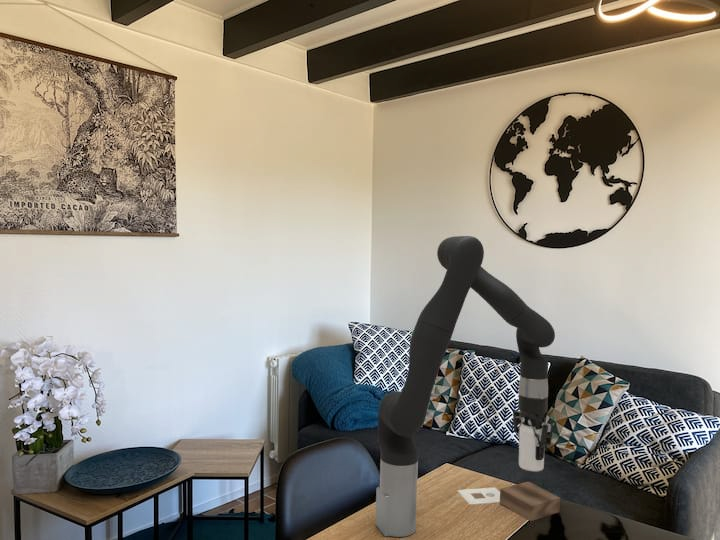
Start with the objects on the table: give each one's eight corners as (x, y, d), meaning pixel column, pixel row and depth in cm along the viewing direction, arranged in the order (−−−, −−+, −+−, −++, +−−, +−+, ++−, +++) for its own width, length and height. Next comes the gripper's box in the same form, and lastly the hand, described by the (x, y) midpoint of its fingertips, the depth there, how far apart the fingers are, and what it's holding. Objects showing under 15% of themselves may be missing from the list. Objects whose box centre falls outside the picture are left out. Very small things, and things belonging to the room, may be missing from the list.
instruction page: (470, 505, 148) (470, 504, 148) (456, 490, 157) (456, 490, 157) (510, 501, 151) (510, 500, 151) (495, 488, 159) (495, 487, 159)
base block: (531, 521, 140) (531, 506, 140) (499, 503, 149) (500, 488, 149) (559, 512, 145) (560, 497, 145) (527, 495, 155) (528, 481, 155)
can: (545, 473, 143) (546, 428, 143) (519, 470, 144) (521, 426, 144) (542, 464, 149) (543, 421, 149) (517, 462, 151) (519, 419, 150)
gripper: (505, 388, 152) (503, 447, 152) (539, 401, 138) (537, 466, 139) (527, 386, 154) (525, 444, 155) (563, 399, 141) (560, 463, 142)
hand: (531, 455), depth 147 cm, fingers closed on can, 6 cm apart
